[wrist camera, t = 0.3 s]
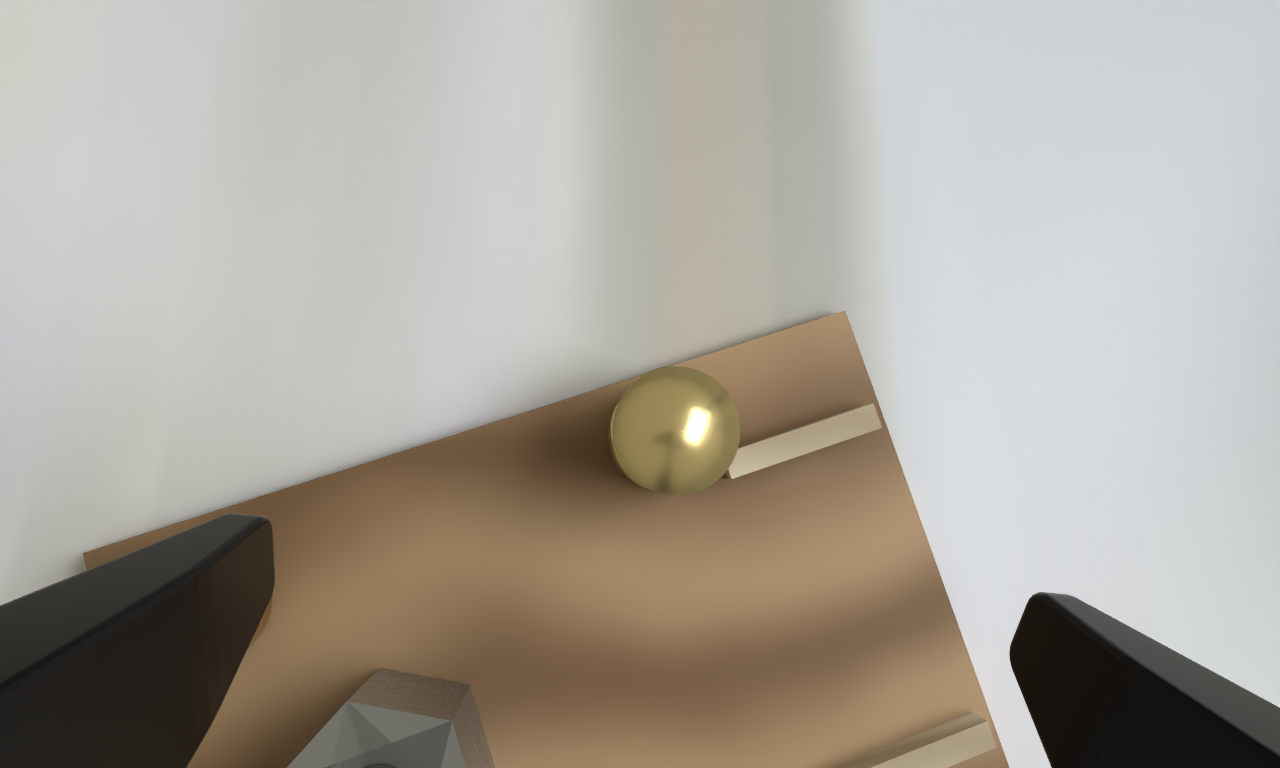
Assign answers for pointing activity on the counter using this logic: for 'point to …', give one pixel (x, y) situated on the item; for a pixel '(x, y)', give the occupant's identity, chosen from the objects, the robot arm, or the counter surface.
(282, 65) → the counter surface
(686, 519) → the walnut board
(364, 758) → the steel nut
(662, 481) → the brass spacers
